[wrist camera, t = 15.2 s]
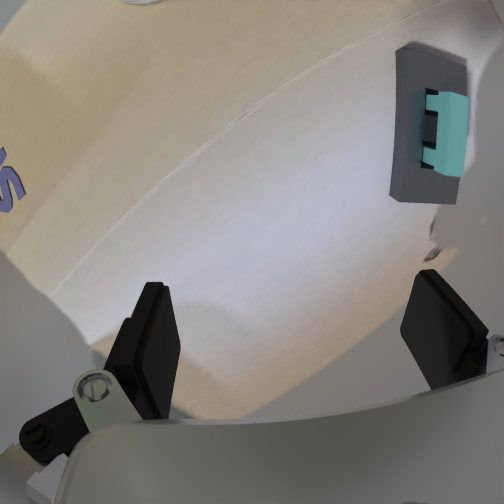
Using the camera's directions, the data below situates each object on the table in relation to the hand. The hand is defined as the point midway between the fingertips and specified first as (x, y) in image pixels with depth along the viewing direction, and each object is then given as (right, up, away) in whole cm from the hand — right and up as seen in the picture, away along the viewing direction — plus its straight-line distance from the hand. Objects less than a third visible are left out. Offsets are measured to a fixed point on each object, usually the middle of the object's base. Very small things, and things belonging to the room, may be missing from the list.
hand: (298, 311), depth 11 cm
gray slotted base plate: (+22, +19, +23) cm, 37 cm away
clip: (+22, +19, +23) cm, 37 cm away
